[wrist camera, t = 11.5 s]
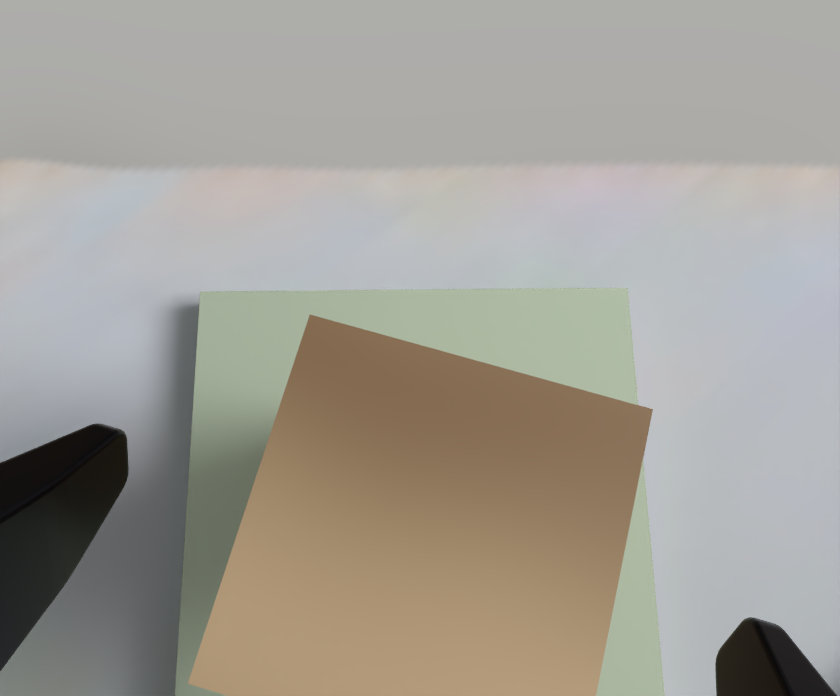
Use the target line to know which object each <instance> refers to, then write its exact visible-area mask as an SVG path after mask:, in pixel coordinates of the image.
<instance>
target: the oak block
mask: <svg viewBox="0 0 840 696" xmlns="http://www.w3.org/2000/svg"><path fill="white" fill-rule="evenodd" d="M652 410H653V409H650V408H646V407H643V406H639V405H635V404H632V403H628V402H624V401H621V400H617V399H614V398H610V397H606V396H603V395H599V394H596V393H592V392H588V391H585V390H581V389H578V388H574V387H570V386H567V385H563V384H559V383H556V382H552V381H549V380H545V379H541V378H538V377H534V376H531V375H527V374H523V373H520V372H516V371H512V370H509V369H505V368H502V367H498V366H494V365H491V364H487V363H484V362H480V361H476V360H473V359H469V358H466V357H462V356H458V355H455V354H451V353H447V352H444V351H440V350H437V349H433V348H429V347H426V346H422V345H419V344H415V343H411V342H408V341H404V340H400V339H397V338H393V337H390V336H386V335H382V334H379V333H375V332H372V331H368V330H364V329H361V328H357V327H353V326H350V325H346V324H343V323H339V322H335V321H332V320H328V319H325V318H321V317H317V316H314V315H309V318H308V321H307V324H306V327H305V330H304V333H303V336H302V339H301V342H300V345H299V348H298V351H297V354H296V357H295V361H294V364H293V367H292V370H291V373H290V376H289V379H288V382H287V385H286V388H285V391H284V394H283V397H282V400H281V403H280V406H279V409H278V412H277V415H276V418H275V421H274V424H273V427H272V430H271V433H270V436H269V439H268V442H267V445H266V448H265V451H264V454H263V457H262V460H261V463H260V466H259V469H258V472H257V475H256V478H255V481H254V484H253V487H252V491H251V494H250V497H249V500H248V503H247V506H246V509H245V512H244V515H243V518H242V521H241V524H240V527H239V530H238V533H237V536H236V539H235V542H234V545H233V548H232V551H231V554H230V557H229V560H228V563H227V566H226V569H225V572H224V575H223V578H222V581H221V584H220V587H219V590H218V593H217V596H216V599H215V602H214V605H213V608H212V611H211V614H210V617H209V621H208V624H207V627H206V630H205V633H204V636H203V639H202V642H201V645H200V648H199V651H198V654H197V657H196V660H195V663H194V666H193V669H192V672H191V675H190V678H189V681H188V684H191V685H194V686H197V687H200V688H204V689H207V690H210V691H214V692H217V693H220V694H223V695H227V696H596V693H597V688H598V683H599V678H600V673H601V668H602V663H603V658H604V653H605V648H606V643H607V638H608V633H609V628H610V622H611V617H612V612H613V607H614V602H615V597H616V592H617V587H618V582H619V577H620V572H621V567H622V562H623V557H624V552H625V547H626V542H627V537H628V532H629V527H630V521H631V516H632V511H633V506H634V501H635V496H636V491H637V486H638V481H639V476H640V471H641V466H642V461H643V456H644V451H645V446H646V441H647V436H648V431H649V425H650V420H651V415H652Z"/></svg>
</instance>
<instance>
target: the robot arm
mask: <svg viewBox="0 0 840 696" xmlns="http://www.w3.org/2000/svg"><path fill="white" fill-rule="evenodd" d="M127 477H128V451H127V437H126V434H125V433H124V431H122V430H121V429H117V428H114V427H110V426H107V425H104V424H92V425H89V426H87V427H85V428H82V429H80V430H77V431H75V432H73V433H70V434H68V435H66V436H63V437H61V438H58V439H56V440H54V441H51V442H49V443H47V444H44V445H42V446H39V447H37V448H35V449H32V450H30V451H27V452H25V453H23V454H20V455H18V456H16V457H13V458H11V459H8V460H6V461H4V462H1V463H0V671H1V670H2V668H3V667H4V666H5V664H6V663H7V662H8V660H9V659H10V658H11V656H12V655H13V654H14V652H15V651H16V650H17V648H18V647H19V646H20V644H21V643H22V642H23V640H24V639H25V638H26V636H27V635H28V633H29V632H30V631H31V629H32V628H33V627H34V625H35V624H36V623H37V621H38V620H39V619H40V617H41V616H42V615H43V613H44V612H45V611H46V609H47V608H48V607H49V605H50V604H51V603H52V601H53V600H54V599H55V597H56V596H57V595H58V593H59V592H60V590H61V589H62V588H63V586H64V585H65V583H66V582H67V581H68V579H69V577H70V576H71V574H72V573H73V571H74V570H75V568H76V566H77V565H78V563H79V561H80V560H81V558H82V556H83V555H84V553H85V551H86V550H87V548H88V546H89V545H90V543H91V541H92V540H93V538H94V536H95V535H96V533H97V531H98V530H99V528H100V526H101V525H102V523H103V521H104V520H105V518H106V516H107V514H108V513H109V511H110V509H111V508H112V506H113V504H114V503H115V501H116V499H117V498H118V496H119V494H120V493H121V491H122V489H123V487H124V485H125V483H126V480H127ZM716 692H717V696H837V695H836V694H835V693H834V691H833V690H832V689H831V688H830V686H829V685H828V684H827V683H826V681H825V680H824V679H823V678H822V676H821V675H820V674H819V673H818V672H817V670H816V669H815V668H814V667H813V665H812V664H811V663H810V662H809V660H808V659H807V658H806V657H805V655H804V654H803V653H802V652H801V650H800V649H799V648H798V647H797V645H796V644H795V643H794V642H793V641H792V639H791V638H790V637H789V636H788V634H787V633H786V632H785V631H784V630H783V629H782V628H781V627H780V626H778V625H776V624H773V623H770V622H767V621H763V620H760V619H756V618H752V617H749V618H747V619H744V620H743V621H742V622H741V623H740V625H739V626H738V627H737V628H736V630H735V631H734V632H733V633H732V634H731V636H730V637H729V638H728V639H727V641H726V642H725V643H724V644H723V645H722V647H721V648H720V650H719V652H718V654H717V658H716Z"/></svg>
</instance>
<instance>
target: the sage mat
mask: <svg viewBox="0 0 840 696" xmlns="http://www.w3.org/2000/svg"><path fill="white" fill-rule="evenodd" d="M309 315H314V316H317V317H321V318H325V319H328V320H332V321H335V322H339V323H343V324H346V325H350V326H353V327H357V328H361V329H364V330H368V331H372V332H375V333H379V334H382V335H386V336H390V337H393V338H397V339H400V340H404V341H408V342H411V343H415V344H419V345H422V346H426V347H429V348H433V349H437V350H440V351H444V352H447V353H451V354H455V355H458V356H462V357H466V358H469V359H473V360H476V361H480V362H484V363H487V364H491V365H494V366H498V367H502V368H505V369H509V370H512V371H516V372H520V373H523V374H527V375H531V376H534V377H538V378H541V379H545V380H549V381H552V382H556V383H559V384H563V385H567V386H570V387H574V388H578V389H581V390H585V391H588V392H592V393H596V394H599V395H603V396H606V397H610V398H614V399H617V400H621V401H624V402H628V403H632V404H635V405H638V398H637V387H636V376H635V365H634V354H633V343H632V332H631V321H630V310H629V299H628V288H565V289H452V290H339V291H226V292H200V303H199V319H198V334H197V350H196V366H195V382H194V398H193V413H192V429H191V445H190V461H189V477H188V493H187V508H186V524H185V540H184V556H183V572H182V587H181V603H180V619H179V635H178V651H177V667H176V682H175V696H227V695H223V694H220V693H217V692H214V691H210V690H207V689H204V688H200V687H197V686H194V685H191V684H188V681H189V678H190V675H191V672H192V669H193V666H194V663H195V660H196V657H197V654H198V651H199V648H200V645H201V642H202V639H203V636H204V633H205V630H206V627H207V624H208V621H209V617H210V614H211V611H212V608H213V605H214V602H215V599H216V596H217V593H218V590H219V587H220V584H221V581H222V578H223V575H224V572H225V569H226V566H227V563H228V560H229V557H230V554H231V551H232V548H233V545H234V542H235V539H236V536H237V533H238V530H239V527H240V524H241V521H242V518H243V515H244V512H245V509H246V506H247V503H248V500H249V497H250V494H251V491H252V487H253V484H254V481H255V478H256V475H257V472H258V469H259V466H260V463H261V460H262V457H263V454H264V451H265V448H266V445H267V442H268V439H269V436H270V433H271V430H272V427H273V424H274V421H275V418H276V415H277V412H278V409H279V406H280V403H281V400H282V397H283V394H284V391H285V388H286V385H287V382H288V379H289V376H290V373H291V370H292V367H293V364H294V361H295V357H296V354H297V351H298V348H299V345H300V342H301V339H302V336H303V333H304V330H305V327H306V324H307V321H308V318H309ZM596 696H665V694H664V683H663V672H662V661H661V650H660V639H659V628H658V617H657V606H656V595H655V584H654V573H653V563H652V552H651V541H650V530H649V519H648V508H647V497H646V486H645V475H644V464H643V461H642V466H641V471H640V476H639V481H638V486H637V491H636V496H635V501H634V506H633V511H632V516H631V521H630V527H629V532H628V537H627V542H626V547H625V552H624V557H623V562H622V567H621V572H620V577H619V582H618V587H617V592H616V597H615V602H614V607H613V612H612V617H611V622H610V628H609V633H608V638H607V643H606V648H605V653H604V658H603V663H602V668H601V673H600V678H599V683H598V688H597V693H596Z"/></svg>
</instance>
